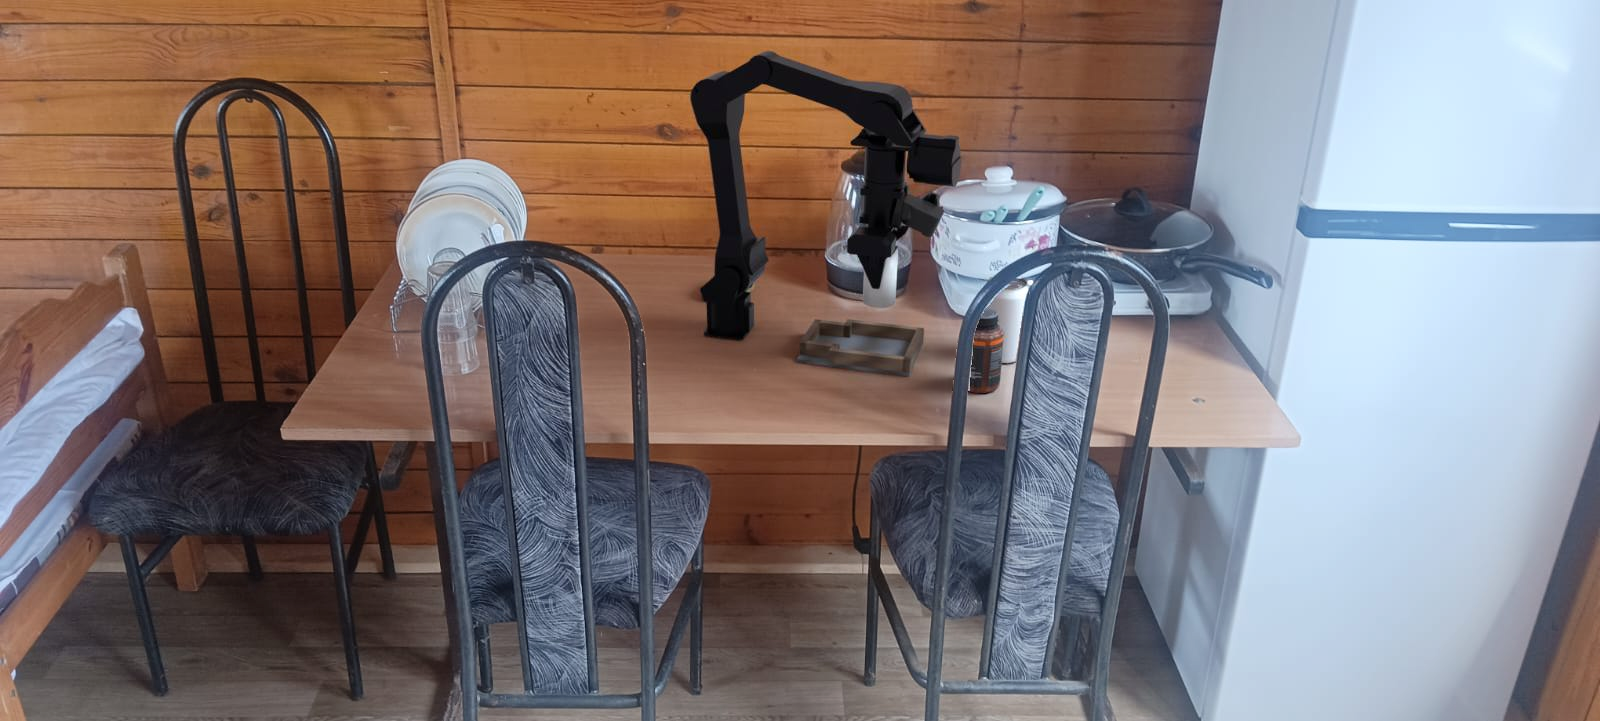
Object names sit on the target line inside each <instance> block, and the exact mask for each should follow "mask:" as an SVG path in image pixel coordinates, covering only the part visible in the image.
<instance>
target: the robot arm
mask: <svg viewBox="0 0 1600 721" xmlns="http://www.w3.org/2000/svg"><path fill="white" fill-rule="evenodd" d="M761 85H764V86H765V85H766V86H769V87H771V88H773V89H777V90H779V91H783V92H786V93H789V94H791V95H794V96H797V97H801V98H803V99H806V100H808V101H812V102H815V103H817V104H820V105H823V106H825V107H828V108H832V109H835V110H837V111H839V112H841V113H843V114H844V115H845V116H847V117H848V118H849V119H850V120H851V121H852V122H853V123H854V124H857V125H859V126H860V127H862V129H861V130H860V131H859V133H858V134H857V135H856V136H855V137H854V138H853V139H852V140H850V145H851V147H863V148H865V149H864V169H863V170H864V171H863V184H862V186H861V187H860V192H859V194H860V196H863V197H862V212H861V214H860V215H859V216H858V217H859V218H858V219H859V220H858V221H859V222H858V223H859V224H865V225H867V226H858V227H857V228H856V229H855V230H853V231H852V233H851V234H850V235H849V237H848V238H847V239H846V253H847V254H849V255H856V257H857V258H858V261H859V262H860V265H861V266H862V268H863V272H864V271H865V273H866V275H867V278H868V280H869V282H870V285H871V287H872V288H873V289H879V288H880V285H881V281H882V277H883V273H884V268H885V264H886V260H887V258H889V257H891V256H892V255H893V254H894V253H895V251H896V249H898V248H899V246H898V245H897V242H898V241H899V240H901V238H902V237H903V236H905V235H906V234H907V232H908V231H909V229H912V230H914V231H917V232H919V233H921V235H922V236H924V237H927V238H933V236H934V234H935V233H936V230H937V228H938V226H939V224H940V222H941V219H942V217H943V215H944V213H945V210H944V206H942V205H940V195H939V194H938V193H936V192H934V191H932V190H930V191H927V193H926V194H925V195H923V196H921V195H918V194H917V196H915V195H912V194H911V193H910V185H909V184H908V182H906V181H905V180H906V179H905V178H906V174H907V175H908V177H909V179H912V180H913V182H914V183H917V184H923V185H924V184H925V185H933V186H934V185H935V186H943V187H951V188H955V187H956V186H957V184H958V183H959V182H958V181H959V179H960V175H961V170H962V160H963V157H962V156H961V146H960V144H959V143H960V142H959V141H960V137H959V136H958V135H949V134H948V135H938V134H937V135H935V134H926V133H927V129H926V127H925V126H924V125H923V123H922V121H921V120H920V118H919V116H918V115H917V113H916V112H915V111H914V108H913V106H914V105H913V100H912V97H911V95H910V94H909V91H908V90H907V89H906V88H905V87H903V86H901V85H898V84H893V83H888V82H887V83H886V82H881V81H869V80H868V81H867V80H866V81H865V80H864V81H863V80H855V79H854V80H853V79H849V78H847V77H844V76H843V77H842V76H840V75H839V74H835V73H831V72H829V71H826V70H823V69H819V68H818V67H817V68H816V67H814V66H811V65H809V64H806V63H803V62H800V61H796V60H793V59H791V58H788V57H785V56H782V55H779V54H777V53H776V52H775V51H771V50H765V51H762V52H760V53H757V54H756V55H753V56H752V57H751V58H750V59H749V60H748V61H746V62H745V63H743V64H742V65H740V66H738V67H736V68H734V69H732V70H730V71H726V70H722V71H718V72H716V73H713V74H712V75H709V76H707V77H705V78H702V79H701V80H699V81H698V82H696V83H695V85H693V86H692V87H693V88H692V89H691V90H690V95H689V97H690V98H689V100H690V104H691V108H692V111H693V114H694V118H695V121H696V124H697V126H698V127H699V130H700V131H701V132H702V134H703V135H704V137H705V138H706V142H707V146H708V148H707V149H708V153H709V162H710V169H711V176H712V186H713V193H714V199H715V208H716V215H717V216H716V217H717V221H718V230H719V237H718V240H717V245H716V250H715V253H714V269H713V270H714V275H713V276H714V277H711V278H710V279H711V280H710V279H709V280H708V281H707V282H706V283H705V284H704V285H702V286H701V287H700V289H699V292H700V294H701V298H703V299H702V300H703V301H704V303H705V302H706V328H705V330H704V331H703V334H702V335H703V336H705V337H710V338H711V337H712V338H720V339H725V340H733V341H734V340H735V341H743V340H744V339H745V338H746V337H747V336H748V334H749V333H750V332H751V331H752V329H753V328H754V327H755V303H754V302H752V300H751V294H752V293H751V292H746V291H747V290H748V289H749V288H751V287H752V286H753V283H754V284H755V282H756V281H757V280H758V279H759V278H761V276H762V275H763V274H764V272H765V269H766V264H767V263H768V262H769V261H770V259H769V257H768V255H767V252H766V244H767V242H766V237H764V236H760V237H757V235H756V234H755V233H754V231H753V229H752V227H751V222H750V213H749V207H748V199H747V190H746V182H745V181H746V180H745V172H744V165H743V157H742V148H741V142H740V141H741V140H740V132H741V128H742V123H743V120H744V115H745V100H746V96H745V95H746V94H748V93H750V92H752V91H753V90H755V89H757V88H759V87H760V86H761Z"/></svg>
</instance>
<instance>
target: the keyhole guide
mask: <svg viewBox="0 0 1600 721" xmlns="http://www.w3.org/2000/svg"><path fill="white" fill-rule="evenodd" d="M924 334H925V328H924V327H920V326H912V325H911V326H908V325H903V324H902V325H901V324H892V323H886V322H885V323H884V322H883V323H882V322H876V321H868V320H858V319H850V318H848V319H846V321H845V322H841V321H840V322H839V321H835V320H834V321H832V320H826V319H825V320H822V319H816V318H815V319H814V321H813V322H812V323H811V325H809V328H808V329H807V330H806V332H805V334H804V336H803V337H802V338H801V339H800V341H799V354H798V356H797V358H796V363H798V364H800V363H801V364H807V365H814V366H821V367H822V366H823V367H830V368H839V369H847V370H855V371H861V372H870V373H877V374H878V373H879V374H886V375H894V376H901V377H910V376H911V373H912V370H913V369H914V366H915V364H916V361H917V359H918V356H919V355H920V351H921V349H922V347H923V345H924V336H925V335H924Z"/></svg>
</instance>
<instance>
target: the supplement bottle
mask: <svg viewBox="0 0 1600 721" xmlns="http://www.w3.org/2000/svg"><path fill="white" fill-rule="evenodd" d="M997 322H998V312H997V311H996V310H994V309H991V308H986V309H985V310H984V313H983V314H982V316H981V318H980V320H979V323H978V325H977V328H976V331H975V335H974V343H973V356H972V365H971V377H970V391H969V392H971V393H974V394H975V393H977V394H986V393H987V394H988V393H991V392H994V391H995V390H997V389H998V388H999V387H1000V383H1001V378H1002V377H1001V375H1002V365H1003V364H1002V352H1003V338H1004V332H1003V329H1002V327H1001V326H1000V325H998V324H997Z"/></svg>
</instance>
